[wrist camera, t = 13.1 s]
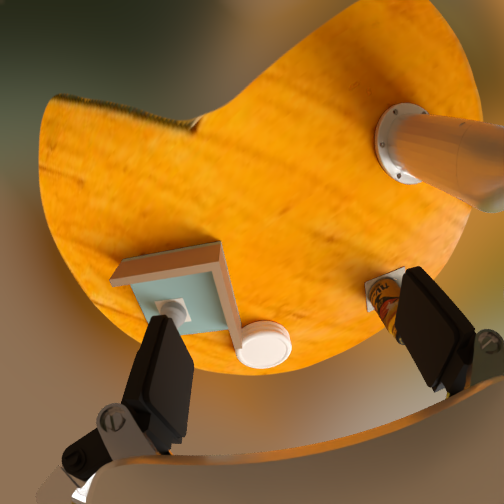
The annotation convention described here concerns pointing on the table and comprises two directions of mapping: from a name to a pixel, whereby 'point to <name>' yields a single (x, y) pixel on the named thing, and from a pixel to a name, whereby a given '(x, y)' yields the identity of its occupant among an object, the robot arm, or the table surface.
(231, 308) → the corner arena
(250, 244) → the table surface
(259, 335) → the white round container
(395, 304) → the condiment
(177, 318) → the rook chess piece
